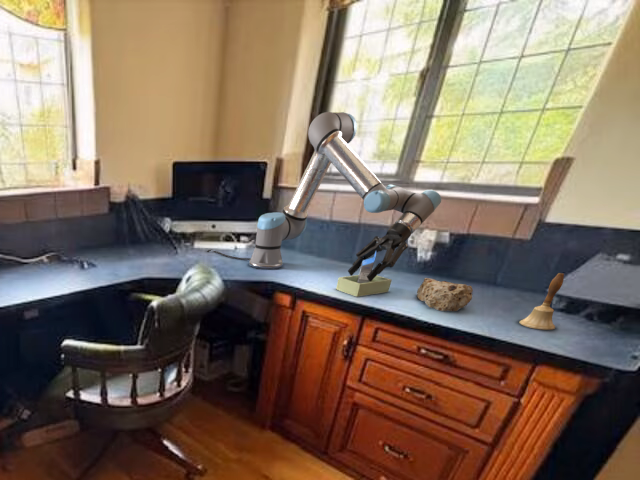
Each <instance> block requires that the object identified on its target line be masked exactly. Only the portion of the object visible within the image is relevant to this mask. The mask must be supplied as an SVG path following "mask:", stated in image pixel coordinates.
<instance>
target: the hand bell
mask: <svg viewBox="0 0 640 480" xmlns="http://www.w3.org/2000/svg"><path fill="white" fill-rule="evenodd" d="M564 276H565V273H563V272H558V273H557V274H556V275H555V277H553V278H552V279H551V281H550V283H549V285H548V289H547V291H548V292H547V294H546V297H545V298H544V300H543V303H542V304H541V305H538V306H535V307H534V308H533V310H532V311H531V312H530V313H529V314H528V316H526V317H525V318H523V319H521V320H519V324H520V325H521V326H523V327H526V328H530V329H535V330H541V331H552V330H555V329H556V325H555V324H554V322H553V316H554V313H555V312H554V311H555V310H554V309H553V308H552V307H551V304H552V302H553V299H554V297H555V296H556V294H557V293H558V292H559V290H560V289H561V288H562V286H563V284H564Z"/></svg>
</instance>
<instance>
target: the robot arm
mask: <svg viewBox="0 0 640 480" xmlns="http://www.w3.org/2000/svg"><path fill="white" fill-rule="evenodd" d="M357 129H358V124H357V120H356V118H355V117H354V116H353V115H352V114H350V113H347V112H344V111H342V112H336V111H335V112H333V111H325V112H322V113H320V114H318V115H316V117H315V118H313V120H312V121H311V123H310V125H309V128H308V132H307V133H308V134H307V135H308V140H309V143H310V144H311V145H312V147H313V149H314V151H313V153H312V156H311V157H310V160H309V162H308V163H307V166H306V168H305V170H304V172H303V174H302V176H301V178H300V180H299V182H298V184H297V187H296V189H295V191H294V193H293V195H292V198H291V200H290V201H289V203H288V204H287V205H284V207H283V209H282V210H281V212H278V211H277V212H276V211H274V212H267V213H264V214H261V215H260V216H259V217H258V220H257V225H256V234H255V235H256V237H255V245H254V250H253V252H252V255H251V257H250V258H249V257H239V256H238V257H237V256H232V255H228V254H225V253H222V252H220V251H217V250H215V251H213V253H215V254H219V255H221V256H224V257H227V258H231V259H236V260H244V261H245V260H246V261H249V263H248V264H249V267H252V268H255V269H261V270H276V269H280V268H282V267H283V257H282V252H281V251H282V250H281V247H282V241H289V240H294V239H296V238H298V237H300V236H302V235H303V233H305V231H306V228H307V225H308V223H307V218H308V217H309V215H308V210H309V207H310V205H311V204H312V202H313V199H314V197H315V196H316V193H317V191H318V189H319V188H320V186H321V184H322V183H323V180H324V178H325V177H326V174H327V173H328V170H329V168H330V166H331V164H332V165H333V167H335V169H336V170H337V171H338V172H339V173H340V174H341V176H342V177H343V178H344V179H345V181H346V182H347V183H348V184H349V185H350V186H351V188H352V189H353V190H354V191H355V192H356V193H357V194H358V195H359V196H360V198H361V199H362V200H363V207H364V210H365V211H366V212H368V213H370V214H371V213H372V214H378V213H379V214H380V213H383V212H387V211H397V212H399V213H402V215H400V216H399V217H398V218H397V219H396V221H395V222H394V223H393V224H392V225H391V226H390V227H389V228H388V229H387V231H386V234H385V235H383V236H382V237H379V236H378V235H376V236H374V237H373V238H372V240H370V242H368V244H366V245H365V246H364V247H363V248H361V249H360V250H359V251H358V252H357V253H356V254H355V256H356V257H357V259H356V260H355V261H354V262H353V263H352V265H351V266H350V268H349V269H348V270H347V272H348V274H349V276H353V275H355V273H356V272H357V271H358V270H360V268H361V264H362V261H363V260H366V259H369V258H372V257H373V256H374V255H375V252H376V254H377V253H379V252H382V251H386V252H385V254H384V257H383V259H382V260H381V262H378V263H377V264H376V265H375V267H373V268H372V271H371V272H370V273H369V274H368V276H367V278H368V280H369V281H372V280H373V279H374V278H375V277H376V275H377V276H378V275H380V274H381V273H382V272H383V271H384V270H385V269H386V268H393V267H394V266H395V265H396V263H397V261H398V260H399V258H400V257H401V255H402V254H403V253H404V252H405V251H406V250H407V249H408V248H409V246H408V243H407V240H408V239H409V238H410V237H411V236H412V235H413V234H414V233H415V232H416V230H418V229H419V227H421V225H422V224H423V223H424V222H425V221H426V220H427V219H428V218H429V217H430V216H431V215H432V214H433V213H434V212H435V210H436V209H437V208H438V207H439V206H440V205H441V203H442V196H441V194H440V193H438V191H436V190H433V189H426V190H423V192H421V193H418V192H417V193H416V192H414V191H411V190H408V189H405V188H403V187H401V186H399V185H395V184H388V185H387V186H385V185H384V184H383V183H382V182H381V180H380V179H379V178H378V177H377V176H376V175H375V173H374V172H372V170H371V169H370V168H369V166H367V164H366V163H365V162H364V161H363V160H362V158H360V156H359V155H358V154H357V153H356V152H355V151H354V150H353V148H352V147H351V146H349V144H350V143H351V142H352V141H353V140H354V138H355V137H356V134H357V131H358V130H357ZM211 250H212V249H208V250H207V251H206V253H209V252H212V251H211Z"/></svg>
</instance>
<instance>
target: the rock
mask: <svg viewBox="0 0 640 480" xmlns="http://www.w3.org/2000/svg"><path fill="white" fill-rule="evenodd" d="M473 292H474V290H473V287H472V285H467V283H466V284H465V283H464V284H462V283H453V282H450V281H445V280H443V281H439V280H436V279H434V278H429V277H425V278H423V281H422V283H421V284H420V285H419V287H418V288H417V290H416V295H417V299H418V300H420V301H421V302H424V303H425V304H426V306H428V308H430V309H434V310H437V311H441V312H447V311H448V312H458V311H459V310H460V309H464V308H465V307H466V306H467V305H468V304H469V303H470V302H471V300H472V299H473Z"/></svg>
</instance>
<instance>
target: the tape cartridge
mask: <svg viewBox="0 0 640 480" xmlns="http://www.w3.org/2000/svg"><path fill="white" fill-rule="evenodd" d="M376 258H377V253H376V252H375V254H374V255H373V256H371V257H369V258H367V259H366V260H363V261H362V264H361V266H360V267H359V273H358V275H359V277H358V281H357V283H360V284H361V283H368V282H369V280H368V278H367V276H368V274H369V273H370V272H371V271H372V270H373V269H374V265H375V261H376Z"/></svg>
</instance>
